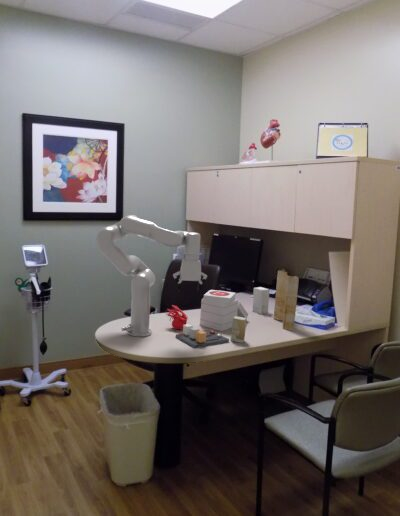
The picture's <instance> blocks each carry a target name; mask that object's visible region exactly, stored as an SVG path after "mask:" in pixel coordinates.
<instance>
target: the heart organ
mask: <svg viewBox="0 0 400 516" xmlns="http://www.w3.org/2000/svg"><path fill="white" fill-rule="evenodd" d="M171 307H172V308H167V312H165V315H166V316H167V317H170V318H169V321H170V322H171V326H172V328H173V329H175V330H178V331H181V330H183V325H186V324H188V320H189V318H188V315H187V314H186V313H185V311H184V310H182V309H180V308H179V307H178V306H177V305H173V304H172V305H171Z"/></svg>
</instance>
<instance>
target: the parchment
mask: <svg viewBox="0 0 400 516" xmlns="http://www.w3.org/2000/svg"><path fill="white" fill-rule="evenodd" d="M298 289H299V276H296V275H294V276H291V275H288V271H285V270H284V269H283V270H282V269H279V270H277V277H276V288H275V300H274V308H273V309H274V310H273V320H277V321H280V322H281V321H283V322H282V329H283V330H286V331H294V329H295V321H296V319H295V318H296V312H297V311H296V309H297V301H298Z"/></svg>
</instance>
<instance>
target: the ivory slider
mask: <svg viewBox="0 0 400 516" xmlns="http://www.w3.org/2000/svg"><path fill="white" fill-rule="evenodd" d="M190 328H194V326H193V325H191V324H190V323H186V325H183V329H182V334H185V335H189V333H190Z"/></svg>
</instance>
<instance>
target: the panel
mask: <svg viewBox="0 0 400 516" xmlns="http://www.w3.org/2000/svg"><path fill="white" fill-rule="evenodd" d="M202 331H204V332H206V342H202V343H200V342H198V341H196V339H192V338H190V337H189V335H185V334H183V333H178V334H177V333H176V334H175V338H176V339H177V340H180V341H181V342H182V343H184V344H187V345H188V346H190V347H191V348H193V349H196V348H203V347H208V346H215V345H221V344H225V343H226V344H227V343H229V342H230V341H229V340H230V339H229V338H227V337H226V336H223V334H222V333H217V332H216V330H211V329H204V330H202Z"/></svg>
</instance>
